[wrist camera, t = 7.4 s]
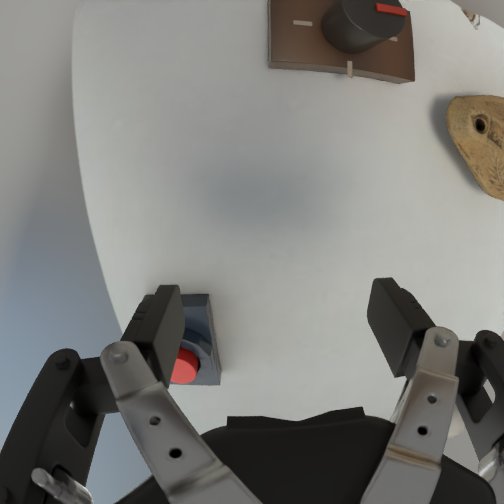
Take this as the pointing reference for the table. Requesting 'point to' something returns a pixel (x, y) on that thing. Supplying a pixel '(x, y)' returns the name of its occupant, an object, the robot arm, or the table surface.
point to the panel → (324, 53)
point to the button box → (200, 339)
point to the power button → (185, 367)
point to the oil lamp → (480, 138)
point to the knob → (362, 23)
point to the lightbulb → (456, 424)
